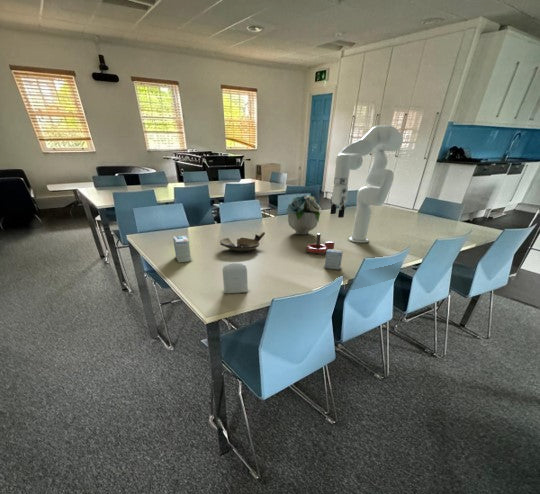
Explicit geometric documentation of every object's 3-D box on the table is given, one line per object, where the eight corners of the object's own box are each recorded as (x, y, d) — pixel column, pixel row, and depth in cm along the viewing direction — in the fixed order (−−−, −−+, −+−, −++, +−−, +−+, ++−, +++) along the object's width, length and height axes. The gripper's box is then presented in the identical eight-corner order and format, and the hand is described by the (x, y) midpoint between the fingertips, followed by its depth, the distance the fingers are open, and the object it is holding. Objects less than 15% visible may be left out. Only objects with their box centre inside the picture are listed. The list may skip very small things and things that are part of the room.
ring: (311, 253, 178) (312, 246, 175) (304, 247, 187) (304, 240, 185) (337, 251, 182) (338, 244, 179) (328, 246, 191) (329, 239, 189)
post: (310, 248, 190) (312, 231, 184) (326, 250, 187) (329, 232, 181) (306, 253, 182) (308, 234, 176) (323, 255, 179) (325, 236, 173)
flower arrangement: (321, 238, 211) (326, 198, 196) (285, 237, 211) (287, 197, 196) (317, 229, 231) (321, 192, 217) (284, 228, 231) (286, 191, 217)
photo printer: (224, 294, 131) (222, 265, 124) (223, 290, 134) (221, 262, 127) (248, 293, 133) (247, 264, 125) (247, 289, 136) (246, 261, 129)
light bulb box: (175, 256, 171) (172, 236, 164) (187, 255, 173) (185, 235, 167) (178, 262, 163) (175, 241, 156) (191, 261, 165) (189, 240, 159)
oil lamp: (215, 246, 189) (214, 233, 184) (262, 243, 198) (262, 230, 193) (224, 257, 172) (223, 243, 167) (274, 253, 181) (275, 239, 176)
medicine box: (340, 267, 162) (343, 250, 157) (339, 270, 159) (341, 253, 154) (325, 265, 164) (327, 248, 159) (324, 268, 161) (326, 251, 156)
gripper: (355, 183, 161) (350, 218, 172) (339, 179, 175) (335, 212, 185) (342, 183, 160) (337, 219, 170) (327, 179, 173) (324, 212, 183)
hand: (336, 215), depth 177 cm, fingers open, 9 cm apart
